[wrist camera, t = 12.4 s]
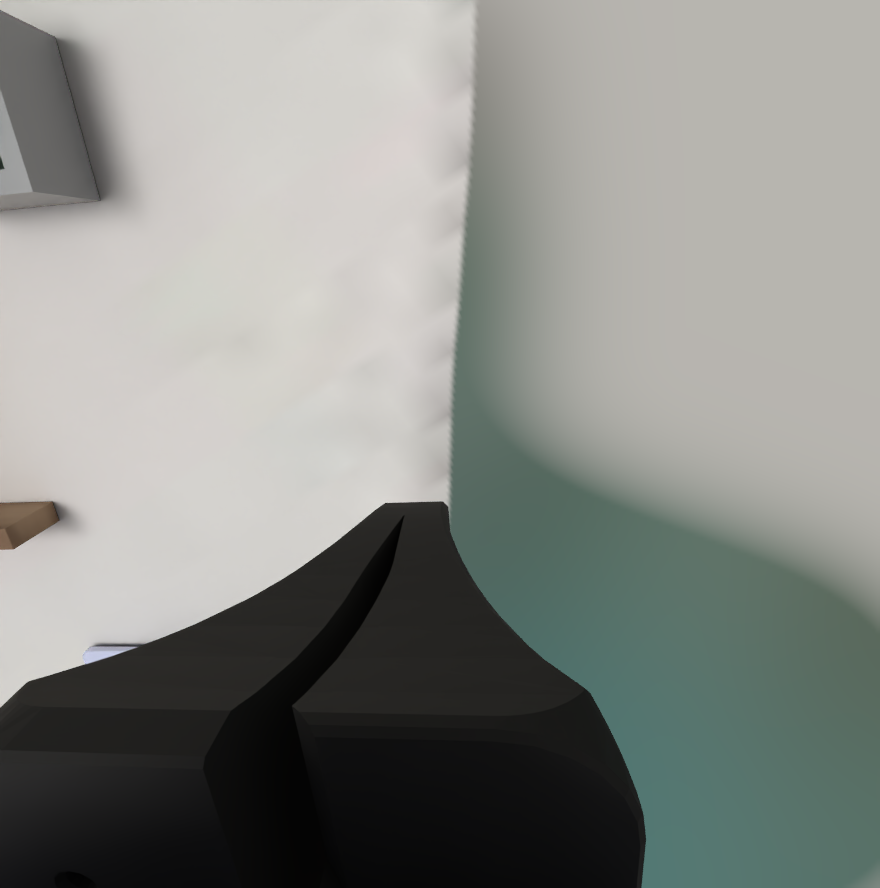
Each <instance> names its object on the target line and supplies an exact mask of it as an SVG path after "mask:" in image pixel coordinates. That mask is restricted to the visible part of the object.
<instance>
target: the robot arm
mask: <svg viewBox="0 0 880 888" xmlns="http://www.w3.org/2000/svg"><path fill="white" fill-rule="evenodd" d="M83 660H84V662H85V665H82V666H79V667H75V668H72V669H69V670H66V671H62V672H59V673H56V674H53V675H50V676H46V677H43V678H39V679H35V680H32V681H29V682H27V683H26V684H25V685H24V686H23V687H22V688H21V689H20V690H18V691H17V692H16V693H15V694H14V695H13V696H12V697H11V698H10V699H9V700H8V701H7V702H6V703H5V704H4V705H3V706H2V707H1V708H0V888H641V884H642V875H643V863H644V854H645V844H646V835H645V826H644V816H643V811H642V808H641V804H640V801H639V798H638V794H637V792H636V789H635V787H634V784H633V781H632V779H631V776H630V774H629V771H628V768H627V766H626V764H625V761H624V759H623V757H622V754H621V752H620V750H619V748H618V745H617V743H616V741H615V739H614V737H613V735H612V733H611V731H610V729H609V727H608V725H607V723H606V721H605V719H604V718H603V716H602V714H601V712H600V710H599V708H598V706H597V705H596V703H595V701H594V699H593V697H592V696H591V694H590V693H589V692H588V691H587V690H586V689H585V688H584V687H582V686H581V685H579V684H578V683H577V682H575V681H574V680H572V679H571V678H569V677H568V676H567V675H565V674H564V673H562V672H561V671H560V670H558V669H557V668H555V667H554V666H553V665H551V664H550V663H548V662H547V661H545V660H544V659H543V658H542V657H541V656H539V655H538V654H537V653H536V652H535V651H534V650H533V649H531V648H530V647H529V646H528V645H527V644H526V643H525V642H524V641H523V640H522V639H521V638H520V637H519V636H518V635H517V634H516V633H515V632H514V631H513V630H512V629H511V627H510V626H509V625H508V624H507V623H506V622H505V621H504V620H503V619H502V618H501V617H500V616H499V615H498V613H497V612H496V611H495V610H494V609H493V607H492V606H491V605H490V603H489V602H488V601H487V600H486V598H485V597H484V595H483V594H482V592H481V591H480V590H479V588H478V587H477V585H476V584H475V582H474V581H473V579H472V577H471V576H470V574H469V572H468V571H467V568H466V567H465V565H464V563H463V561H462V559H461V557H460V555H459V553H458V551H457V548H456V546H455V543H454V541H453V538H452V536H451V533H450V524H449V511H448V506H447V505H446V504H445V503H444V502H409V503H385V504H383V505H382V506H380V507H379V508H378V509H376V510H375V511H374V512H373V513H371V514H370V515H369V516H368V517H366V518H365V519H364V520H363V521H362V522H360V523H359V524H358V525H357V526H355V527H354V528H353V529H352V530H350V531H349V532H348V533H347V534H345V535H344V536H343V537H342V538H340V539H339V540H338V541H337V542H335V543H334V544H333V545H331V546H330V547H329V548H327V549H326V550H324V551H323V552H322V553H320V554H319V555H318V556H316V557H315V558H313V559H312V560H311V561H309V562H308V563H306V564H305V565H304V566H302V567H301V568H299V569H298V570H296V571H295V572H293V573H292V574H290V575H289V576H287V577H285V578H284V579H282V580H280V581H279V582H277V583H275V584H274V585H272V586H270V587H268V588H267V589H265V590H263V591H261V592H260V593H258V594H256V595H254V596H253V597H251V598H249V599H247V600H245V601H243V602H241V603H239V604H237V605H235V606H233V607H230V608H228V609H226V610H224V611H222V612H220V613H218V614H216V615H214V616H212V617H210V618H208V619H205V620H203V621H201V622H199V623H197V624H195V625H192V626H190V627H188V628H185V629H183V630H180V631H178V632H175V633H173V634H170V635H168V636H166V637H163V638H160V639H158V640H155V641H152V642H150V643H147V644H144V645H142V646H139V647H94V646H93V647H89V648H88V649H87V650H86V651H85V652H84V653H83Z"/></svg>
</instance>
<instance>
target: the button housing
mask: <svg viewBox="0 0 880 888" xmlns="http://www.w3.org/2000/svg"><path fill="white" fill-rule="evenodd" d="M0 156H1V159H2V162H3V165H4V168H5V169H2V170H0V210H10V209H21V208H31V207H41V206H51V205H61V204H71V203H81V202H91V201H100V198H99V194H98V191H97V187H96V183H95V180H94V176H93V172H92V169H91V165H90V162H89V158H88V154H87V151H86V147H85V144H84V140H83V136H82V133H81V129H80V126H79V122H78V118H77V115H76V111H75V107H74V104H73V100H72V97H71V93H70V89H69V86H68V82H67V79H66V75H65V71H64V68H63V64H62V61H61V57H60V53H59V50H58V46H57V42H56V39H55V37H54V36H52V35H50V34H48V33H46V32H44V31H42V30H40V29H38V28H36V27H33V26H31V25H29V24H27V23H25V22H23V21H21V20H19V19H17V18H15V17H13V16H11V15H9V14H7V13H5V12H3V11H1V10H0Z"/></svg>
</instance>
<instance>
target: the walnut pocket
mask: <svg viewBox="0 0 880 888" xmlns="http://www.w3.org/2000/svg"><path fill="white" fill-rule="evenodd" d="M58 521H59V519H58V516H57V513H56V511H55V508H54V505H53V503H52V502H25V503H0V550H5V549H15V548H16V547H18V546H20V545H21V544H23V543H24V542H26V541H28V540H29V539H31V538H32V537H34V536H36V535H37V534H39V533H40V532H42V531H44V530H45V529H47V528H48V527H50V526H52V525H53V524H55V523H56V522H58Z"/></svg>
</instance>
